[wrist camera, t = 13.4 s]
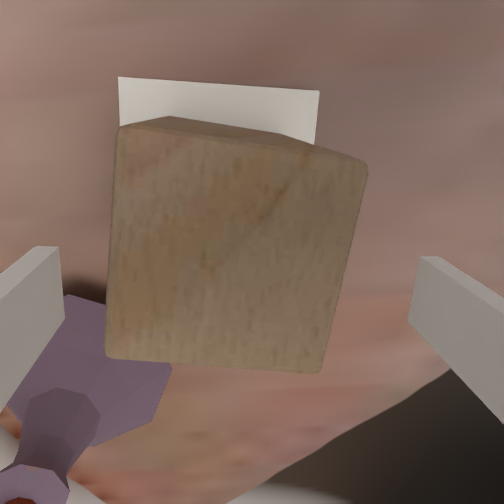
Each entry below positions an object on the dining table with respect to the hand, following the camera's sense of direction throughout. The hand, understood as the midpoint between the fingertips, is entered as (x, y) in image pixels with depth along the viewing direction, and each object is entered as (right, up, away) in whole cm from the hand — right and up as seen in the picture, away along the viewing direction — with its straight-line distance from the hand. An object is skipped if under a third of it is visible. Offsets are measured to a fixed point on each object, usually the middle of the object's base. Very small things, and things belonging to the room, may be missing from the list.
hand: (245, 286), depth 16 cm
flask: (-16, -9, +28) cm, 33 cm away
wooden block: (-3, +7, +21) cm, 22 cm away
